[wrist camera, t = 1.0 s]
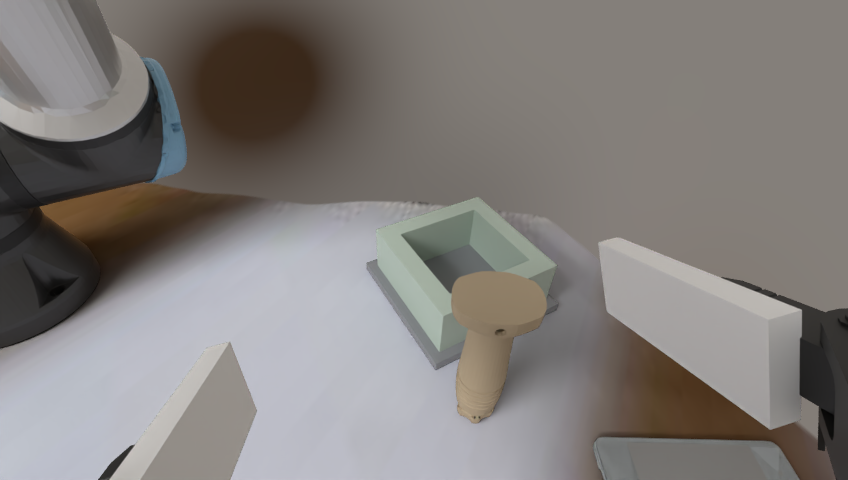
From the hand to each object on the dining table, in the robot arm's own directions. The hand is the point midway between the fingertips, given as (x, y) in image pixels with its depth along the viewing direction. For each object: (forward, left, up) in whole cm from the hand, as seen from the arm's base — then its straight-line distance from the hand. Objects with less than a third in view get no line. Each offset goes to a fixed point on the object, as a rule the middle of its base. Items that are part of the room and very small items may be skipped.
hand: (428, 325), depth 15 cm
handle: (-6, +10, -25) cm, 27 cm away
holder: (-19, +17, -25) cm, 35 cm away
